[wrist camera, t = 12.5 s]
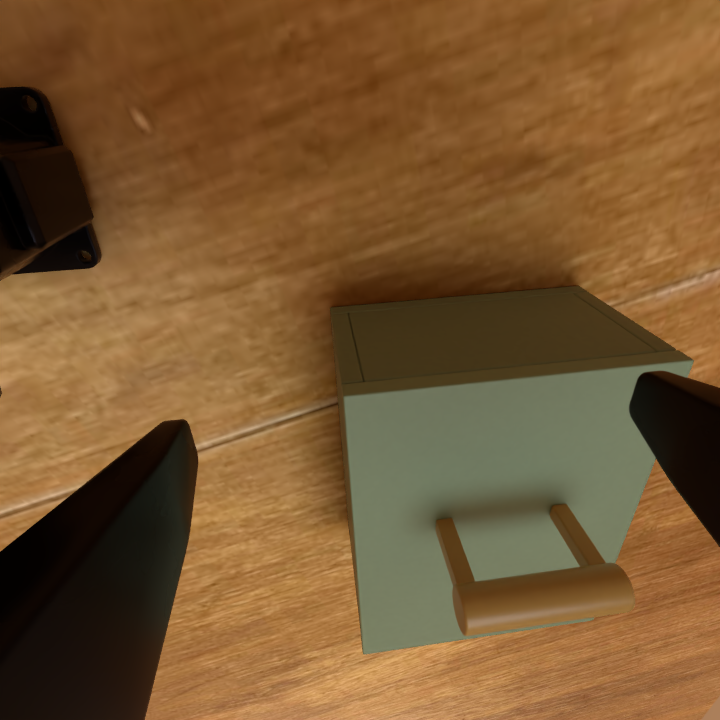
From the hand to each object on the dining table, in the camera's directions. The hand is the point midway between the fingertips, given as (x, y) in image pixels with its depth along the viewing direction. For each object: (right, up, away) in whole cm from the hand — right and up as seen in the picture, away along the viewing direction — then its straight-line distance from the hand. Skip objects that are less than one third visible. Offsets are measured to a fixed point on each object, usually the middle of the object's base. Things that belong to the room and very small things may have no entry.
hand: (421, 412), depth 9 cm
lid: (+5, -6, +11) cm, 14 cm away
